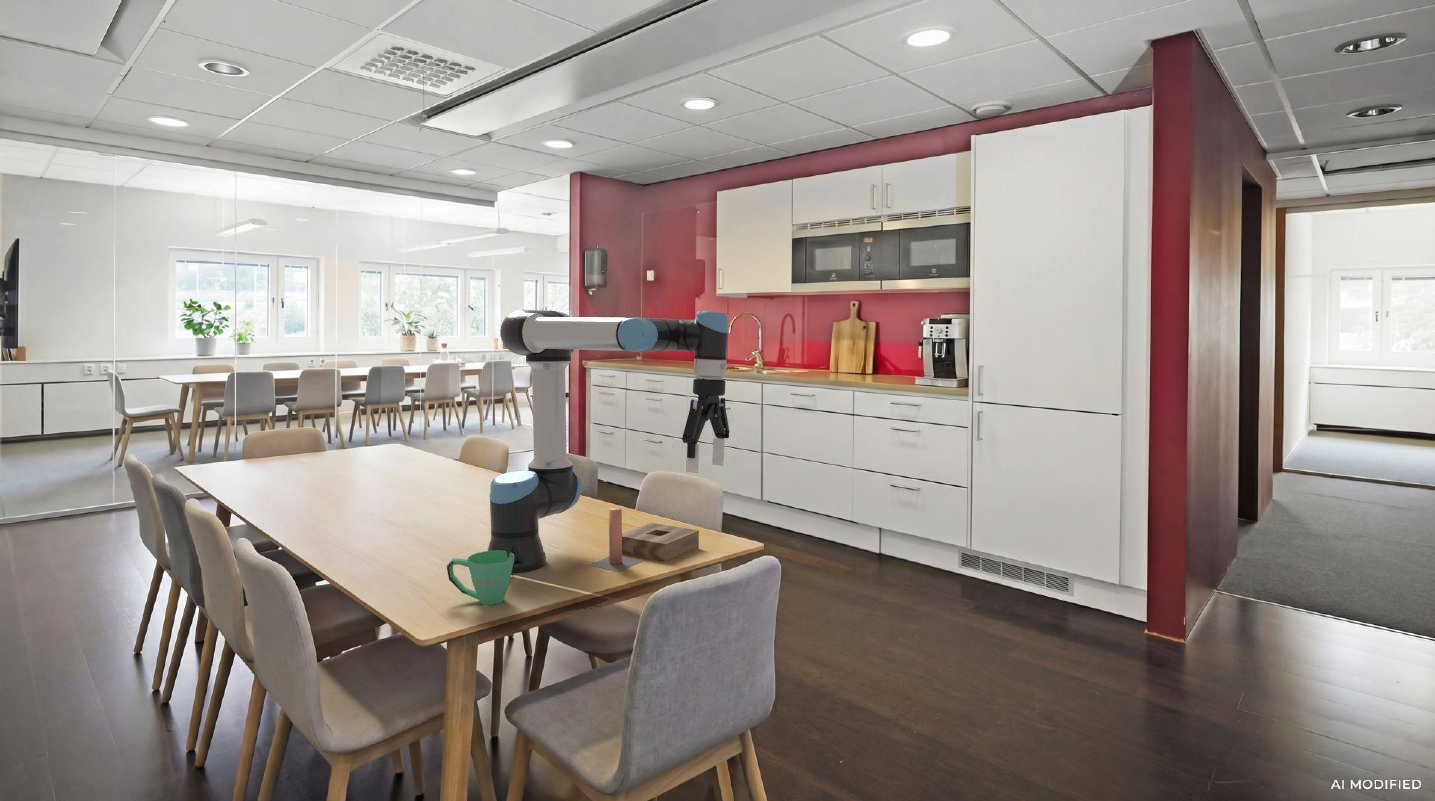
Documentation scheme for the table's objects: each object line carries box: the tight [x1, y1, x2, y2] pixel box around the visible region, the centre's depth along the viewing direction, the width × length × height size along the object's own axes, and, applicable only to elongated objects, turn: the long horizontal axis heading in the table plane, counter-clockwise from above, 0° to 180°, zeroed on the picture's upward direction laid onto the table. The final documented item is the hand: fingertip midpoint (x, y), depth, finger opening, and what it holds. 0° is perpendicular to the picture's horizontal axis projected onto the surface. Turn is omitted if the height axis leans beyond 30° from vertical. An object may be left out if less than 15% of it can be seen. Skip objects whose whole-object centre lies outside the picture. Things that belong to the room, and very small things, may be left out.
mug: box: [446, 550, 514, 606], centre depth 163 cm, size 15×10×10 cm
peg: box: [608, 507, 623, 565], centre depth 189 cm, size 3×3×14 cm
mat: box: [588, 556, 644, 572], centre depth 190 cm, size 10×10×1 cm
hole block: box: [622, 522, 700, 562], centre depth 202 cm, size 16×16×5 cm
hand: (705, 468), depth 174 cm, fingers open, 13 cm apart
